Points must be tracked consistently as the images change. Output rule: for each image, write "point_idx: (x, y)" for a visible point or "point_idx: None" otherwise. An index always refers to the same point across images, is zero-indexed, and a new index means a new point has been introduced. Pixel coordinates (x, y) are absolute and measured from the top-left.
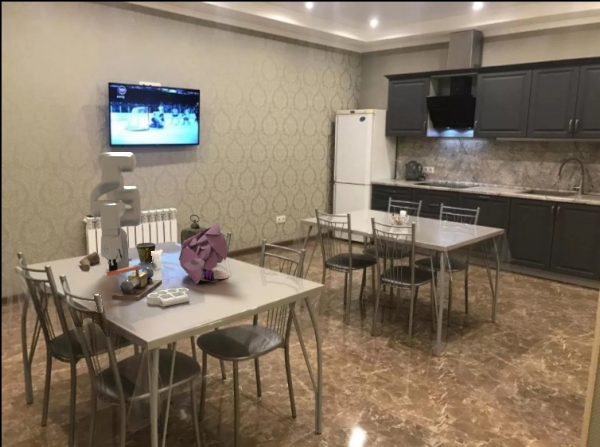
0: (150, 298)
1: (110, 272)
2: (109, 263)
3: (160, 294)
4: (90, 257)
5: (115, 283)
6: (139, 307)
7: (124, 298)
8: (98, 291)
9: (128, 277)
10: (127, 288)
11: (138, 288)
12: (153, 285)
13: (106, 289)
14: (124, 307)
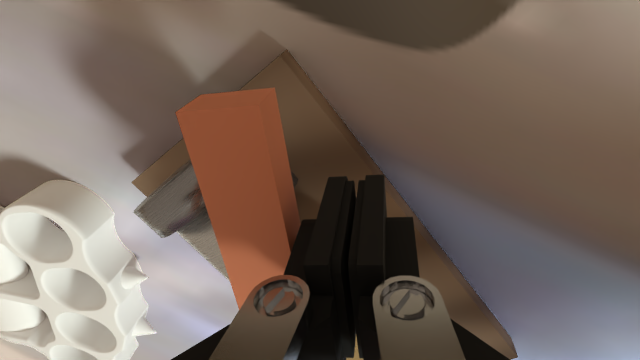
0: (11, 203)
1: (201, 147)
2: (375, 301)
3: (42, 269)
4: None
5: (632, 242)
6: (6, 108)
7: None
8: (573, 45)
9: None
10: (174, 174)
11: None
12: None
13: (557, 125)
14: (38, 30)
